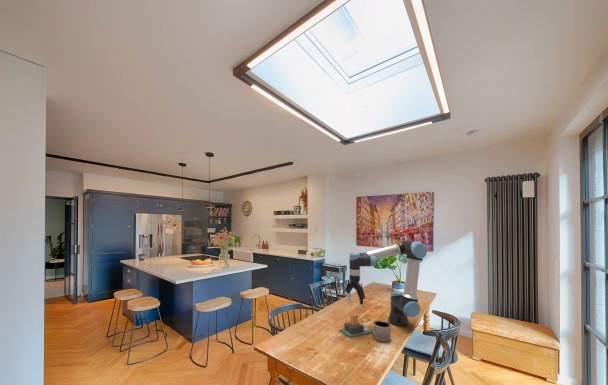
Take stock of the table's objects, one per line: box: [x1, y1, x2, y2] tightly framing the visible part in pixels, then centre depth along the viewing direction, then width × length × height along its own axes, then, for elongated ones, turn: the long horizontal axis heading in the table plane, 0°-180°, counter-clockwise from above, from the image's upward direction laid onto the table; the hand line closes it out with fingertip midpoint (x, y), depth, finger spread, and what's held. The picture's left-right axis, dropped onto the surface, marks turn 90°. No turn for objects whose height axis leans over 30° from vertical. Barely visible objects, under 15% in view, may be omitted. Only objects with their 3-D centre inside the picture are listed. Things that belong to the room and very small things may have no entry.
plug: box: [349, 313, 359, 327], centre depth 181 cm, size 4×3×10 cm, turn 116°
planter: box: [373, 320, 391, 343], centre depth 172 cm, size 11×11×10 cm
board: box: [339, 321, 374, 339], centre depth 181 cm, size 20×12×5 cm, turn 116°
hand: (354, 305), depth 182 cm, fingers open, 13 cm apart
